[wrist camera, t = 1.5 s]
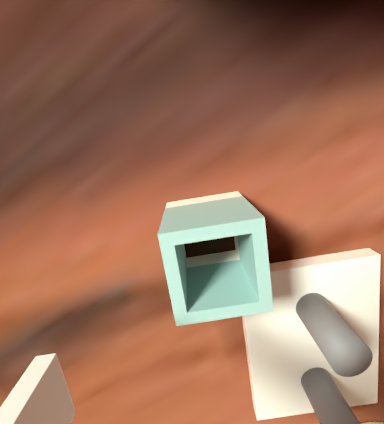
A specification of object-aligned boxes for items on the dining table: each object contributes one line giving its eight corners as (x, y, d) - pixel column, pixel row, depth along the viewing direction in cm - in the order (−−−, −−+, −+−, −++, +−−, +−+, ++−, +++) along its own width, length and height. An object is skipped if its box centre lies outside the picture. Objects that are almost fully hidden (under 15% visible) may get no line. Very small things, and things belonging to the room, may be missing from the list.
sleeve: (166, 202, 23) (157, 234, 15) (237, 191, 23) (264, 217, 15) (179, 267, 24) (176, 326, 17) (245, 256, 24) (273, 311, 17)
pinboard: (235, 268, 25) (256, 322, 17) (368, 247, 24) (446, 293, 17) (253, 406, 29) (276, 496, 21) (367, 389, 28) (430, 474, 21)
